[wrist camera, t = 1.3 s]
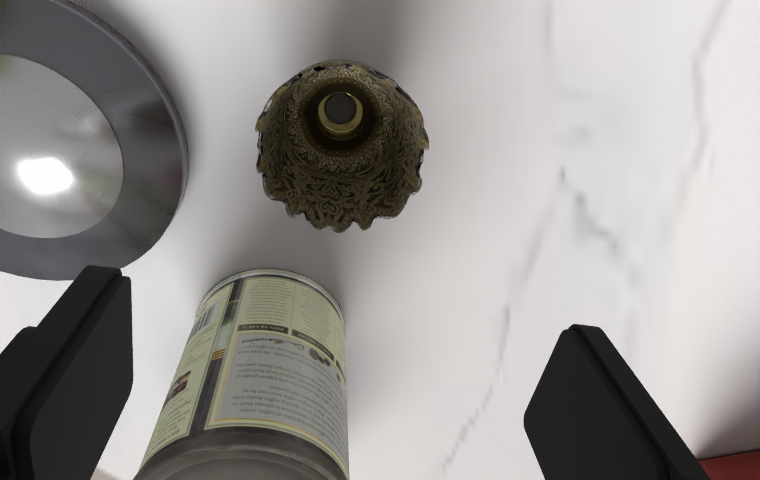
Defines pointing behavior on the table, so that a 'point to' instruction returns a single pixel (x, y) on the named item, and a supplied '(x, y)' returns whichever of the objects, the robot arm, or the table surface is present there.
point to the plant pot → (733, 467)
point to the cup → (341, 146)
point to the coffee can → (257, 387)
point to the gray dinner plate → (81, 144)
